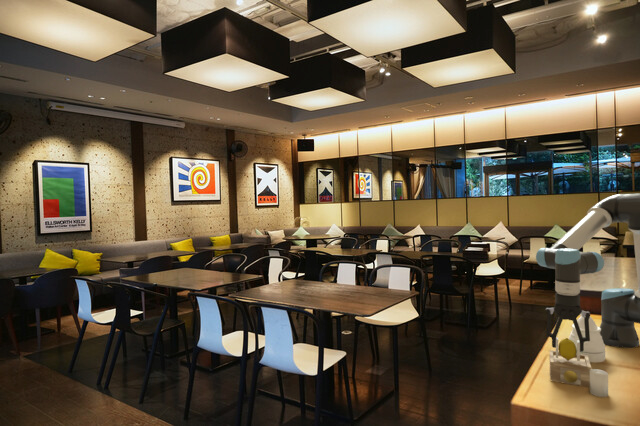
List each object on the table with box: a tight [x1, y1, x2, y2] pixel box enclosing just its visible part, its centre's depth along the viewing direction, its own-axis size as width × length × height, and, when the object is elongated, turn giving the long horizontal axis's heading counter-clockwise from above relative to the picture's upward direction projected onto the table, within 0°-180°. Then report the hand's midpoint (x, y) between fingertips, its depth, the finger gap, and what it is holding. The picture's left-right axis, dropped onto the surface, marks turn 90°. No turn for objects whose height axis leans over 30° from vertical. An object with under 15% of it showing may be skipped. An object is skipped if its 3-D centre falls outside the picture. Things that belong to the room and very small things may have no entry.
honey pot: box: [568, 314, 606, 363], centre depth 169 cm, size 13×13×18 cm
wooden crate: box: [549, 350, 592, 388], centre depth 150 cm, size 12×12×7 cm
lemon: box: [558, 337, 577, 361], centre depth 150 cm, size 6×6×8 cm
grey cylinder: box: [589, 368, 609, 398], centre depth 138 cm, size 5×5×7 cm
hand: (567, 358), depth 150 cm, fingers open, 6 cm apart
